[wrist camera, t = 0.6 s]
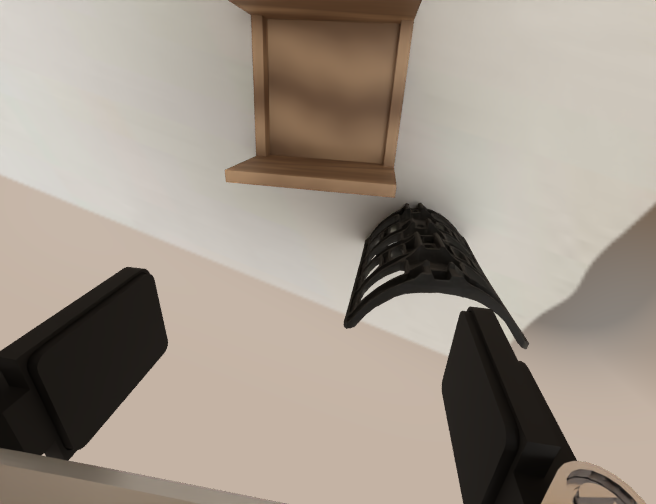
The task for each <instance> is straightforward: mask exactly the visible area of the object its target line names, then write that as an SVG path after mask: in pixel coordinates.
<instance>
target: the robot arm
mask: <svg viewBox="0 0 656 504" xmlns="http://www.w3.org/2000/svg"><path fill="white" fill-rule="evenodd" d="M167 346H168V339H167V335H166V330H165V326H164V321H163V317H162V312H161V308H160V303H159V298H158V294H157V289H156V285H155V280H154V277H153V276H152V275H151V274H150V273H149V272H148V270H146V269H141V268H132V267H126V268H124V269H122V270H121V271H119V272H118V273H116V274H115V275H113V276H112V277H110V278H109V279H107V280H106V281H104V282H103V283H101V284H100V285H98V286H97V287H95V288H94V289H92V290H91V291H89V292H88V293H86V294H85V295H83V296H82V297H81V298H79V299H77V300H76V301H74V302H73V303H71V304H70V305H68V306H67V307H65V308H64V309H63V310H61V311H59V312H58V313H56V314H55V315H54V316H52V317H51V318H49V319H47V320H46V321H45V322H43V323H41V324H40V325H39V326H37V327H36V328H34V329H32V330H31V331H30V332H28V333H27V334H25V335H24V336H22V337H21V338H19V339H18V340H16V341H15V342H13V343H12V344H10V345H9V346H7V347H6V348H4V349H3V350H1V351H0V504H285V503H280V502H275V501H270V500H266V499H260V498H256V497H251V496H246V495H241V494H235V493H231V492H226V491H221V490H216V489H211V488H206V487H201V486H196V485H191V484H186V483H181V482H175V481H170V480H165V479H160V478H155V477H149V476H145V475H140V474H135V473H130V472H125V471H119V470H114V469H109V468H103V467H98V466H93V465H88V464H83V463H77V462H72V461H68V460H69V459H70V458H71V457H72V456H73V455H74V453H75V452H76V451H77V450H79V449H81V448H83V447H84V446H85V445H86V444H87V443H88V442H89V441H90V440H91V439H92V437H93V436H94V435H95V434H96V433H97V431H98V430H99V429H100V428H101V427H102V425H103V424H104V423H105V422H106V421H107V420H108V419H109V417H110V416H111V415H112V414H113V413H114V411H115V410H116V409H117V408H118V407H119V406H120V404H121V403H122V402H123V401H124V400H125V399H126V397H127V396H128V395H129V394H130V393H131V392H132V390H133V389H134V388H135V387H136V386H137V384H138V383H139V382H140V381H141V380H142V379H143V377H144V376H145V375H146V374H147V372H148V371H149V370H150V369H151V368H152V367H153V365H154V364H155V363H156V362H157V361H158V360H159V358H160V357H161V356H162V355H163V354H164V352H165V351H166V349H167ZM442 395H443V400H444V405H445V411H446V415H447V421H448V426H449V431H450V437H451V442H452V446H453V451H454V457H455V462H456V468H457V473H458V478H459V483H460V488H461V494H462V499H463V503H464V504H646V503H645V501H644V500H643V499H642V498H641V497H640V496H639V495H638V494H637V493H636V492H635V491H634V490H633V489H632V488H631V487H630V486H629V485H628V484H626V483H625V482H624V481H622V480H621V479H620V478H618V477H617V476H616V475H614V474H612V473H610V472H609V471H607V470H605V469H603V468H601V467H599V466H596V465H593V464H591V463H587V462H581V461H577V460H576V458H575V456H574V454H573V452H572V450H571V448H570V446H569V445H568V443H567V441H566V439H565V437H564V435H563V434H562V432H561V429H560V427H559V425H558V424H557V422H556V420H555V418H554V416H553V414H552V412H551V410H550V409H549V406H548V405H547V403H546V401H545V399H544V397H543V395H542V393H541V391H540V389H539V387H538V385H537V384H536V382H535V380H534V378H533V376H532V374H531V372H530V370H529V369H528V367H527V366H526V364H525V363H523V362H522V361H518V360H517V358H516V356H515V354H514V352H513V350H512V348H511V346H510V344H509V342H508V340H507V338H506V336H505V334H504V332H503V330H502V328H501V326H500V324H499V322H498V320H497V318H496V316H495V314H494V312H493V310H492V309H486V308H477V307H469V308H468V309H467V311H461V312H460V315H459V319H458V322H457V326H456V330H455V334H454V338H453V342H452V345H451V349H450V353H449V357H448V361H447V365H446V369H445V372H444V376H443V380H442ZM43 453H45V455H46V456H41V455H42V454H43Z"/></svg>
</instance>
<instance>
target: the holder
mask: <svg viewBox="0 0 656 504" xmlns="http://www.w3.org/2000/svg"><path fill="white" fill-rule="evenodd" d="M396 241H398V242H396ZM394 242H396V243H394ZM391 243H393V244H391ZM389 244H391V245H390V246H388V247H387V245H389ZM375 255H376V256H375ZM374 256H375V257H374ZM373 257H374V258H373ZM372 258H373V259H372ZM371 259H372V260H371ZM378 264H379V266H378V267H377V269H376V270H375V271H374V272H373V273H371V274H370V275H369V276H368V274H369V273H370V271H371V270H372V269H373V268H374V267H375V266H377V265H378ZM399 270H401V271H405V273H404V274H402V275H400V276H397V277H395V278H393V279H391V280H389V281H387V282H386V283H384V284H382V285H381V286H379V287H377V288H376V289H375V290H374V291H372V292H371V293H370V294H368V295H367V296H366V297H365V298H364V299H363V300H361V298H362V297H363V295H364V293H365V292H366V291H367V290H368V289H369V288H370V287H371V286H372V285H373V284H374V283H375V282H377V281H378V280H380V279H382V278H383V277H385V276H387V275H389V274H392V273H394V272H397V271H399ZM367 276H368V277H367ZM366 277H367V278H366ZM410 293H443V294H450V295H456V296H461V297H465V298H468V299H472V300H475V301H477V302H479V303H481V304H483V305H485V306H486V307H488V308H490V309H492V310H493V311H494V312H495V313H496V314H497V315H499V316H500V317H501V318H502V319H503V320H504V321H505V323H506V324H507V326H508V328H509V329H510V331H511V333H512V334H513V336H514V338H515V339H516V341H517V343H518V344H519V345H520V346H521V347H522V348H524V349H527V347H528V345H529V343H528V341H527V339H526V338H525V336H524V335H523V333H522V332H521V330H520V329H519V327H518V326H517V324H516V323H515V321H514V320H513V318H512V317H511V315H510V314H509V312H508V310H507V309H506V307H505V306H504V304H503V303H502V301H501V300H500V298H499V297H498V295H497V294H496V292H495V290H494V289H493V287H492V286H491V284H490V283H489V281H488V279H487V278H486V276H485V274H484V273H483V271H482V269H481V268H480V266H479V264H478V262H477V260H476V259H475V257H474V255H473V253H472V251H471V249H470V247H469V245H468V243H467V242H466V240H465V238H464V237H462V236H460V234H459V233H458V231H457V230H456V228H455V227H454V226H453V225H452V224H451V223H450V222H449V221H448V220H447V219H446V218H444V217H443V216H441V215H440V214H438V213H436V212H434V211H432V210H428V209H426V208H425V207H424V206H423V205H422V204H421V203H419V204H418V209H411V210H410V207H409V204H405V205H404V206H403V208H402V209H401V210H400V211H398V212H395V213H393V214H391V215H390V216H389V217H387V218H386V219H384V220H383V221H382V222H381V223H380V224H379V225H378V226H377V227H376V228H375V230H374V231H373V232H372V234H371V236H370V237H369V238H368V239H367V240H365V244H364V249H363V253H362V257H361V261H360V265H359V268H358V272H357V276H356V279H355V283H354V287H353V291H352V294H351V298H350V302H349V305H348V309H347V313H346V316H345V319H344V327H345V328H346V329H347V328H352V327H355V326H356V325H357V323H358V322H359V321H360V320H361V319H362V318H363V317H364V316H365V315H366V314H367V313H369V312H370V311H371V310H372V309H374V308H375V307H377V306H379V305H381V304H382V303H384V302H386V301H388V300H390V299H392V298H394V297H396V296H399V295H403V294H410Z"/></svg>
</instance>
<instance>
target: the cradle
mask: <svg viewBox="0 0 656 504" xmlns="http://www.w3.org/2000/svg"><path fill="white" fill-rule="evenodd" d="M228 1H230V2H232V3H233V4H235V5H236V6H238V7H239V8H241V9H243V10H244V11H246V12H247V13H249V14H250V15H251V27H252V54H253V80H254V107H255V134H256V156H255V157H253V158H251V159H248V160H246V161H244V162H242V163H239V164H237V165H235V166H233V167H230V168H228V169H226V170H225V177H226V182H232V183H242V184H253V185H264V186H275V187H285V188H296V189H307V190H318V191H328V192H339V193H350V194H361V195H371V196H382V197H393V198H395V192H396V179H395V172H394V162H395V155H396V147H397V140H398V133H399V125H400V118H401V111H402V104H403V96H404V89H405V82H406V74H407V67H408V60H409V53H410V45H411V38H412V31H413V23H414V19H415V16H416V14H417V11H418V8H419V6H420V3H421V1H422V0H228Z"/></svg>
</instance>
